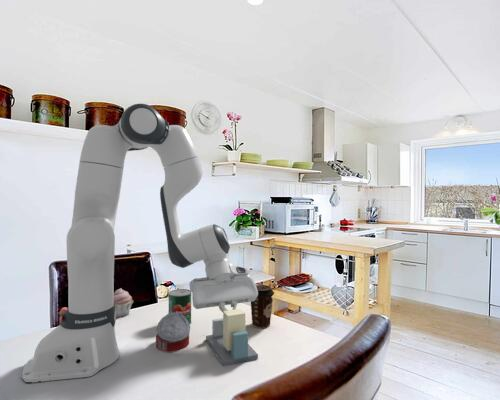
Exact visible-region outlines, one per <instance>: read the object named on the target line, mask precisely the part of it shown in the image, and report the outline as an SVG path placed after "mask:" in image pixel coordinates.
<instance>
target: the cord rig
mask: <svg viewBox="0 0 500 400" xmlns="http://www.w3.org/2000/svg"><path fill="white" fill-rule="evenodd" d="M211 326H212V327H211V328H212V332H211V334H207V335H206V336H205V340H206V342H207V343H208V345H209V347H211V350H212V352H213V353H214V354H215V356H216V357H217V359H218V360H219V362H220V363H221V365H222V366H223V367H226V366H229V365H230V366H231V365H233V364H240V363H244V362H249V361H254V360H259V354H258V353H257V352H256V351H255V349H253V347H252V346H251V345H250V344H249V333H248V331H246V329H245V330H243V331H237V332H231V337H230V343H231V350H229V351H228V350H227V349H226V348H225V346H224V345H223V317H221V318H215V319H212V325H211Z"/></svg>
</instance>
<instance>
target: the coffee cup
mask: <svg viewBox="0 0 500 400" xmlns="http://www.w3.org/2000/svg"><path fill="white" fill-rule="evenodd" d="M256 287H257V290H258V296H257V298H256V299H255V301H252V302H250V309H251V326H253V327H254V328H258V329H264V328H267V327H270V326H271V318H272V309H273V301H274V300H273V296H274V295H275V292H274V291H273V289H272V286H270V285H265V284H257V285H256Z"/></svg>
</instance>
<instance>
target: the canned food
mask: <svg viewBox="0 0 500 400" xmlns="http://www.w3.org/2000/svg"><path fill="white" fill-rule="evenodd" d="M190 331H191V324H190V325H189V322H188V320H187V319H186V317H185V316H184V315H183V314H181V313H177V312H172V313H169V312H168V313H167V314H166V315H164V316H162V317H161V318H160V320H159V322H158V323H157V327H156V335H155V347H156V349H157V350H158V351H161V352H167V353H168V352H169V353H170V352H171V353H173V352H177V351H178V352H179V351H180V350H184V349H185V348H187V347H188V346H189V345H190V333H191V332H190Z"/></svg>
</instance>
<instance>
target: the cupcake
mask: <svg viewBox="0 0 500 400" xmlns="http://www.w3.org/2000/svg"><path fill="white" fill-rule="evenodd" d="M133 303H134V300H133V297H132V296H131V295H130V294H129V292H128V291H126V290H124V289H122V287H121V288H119V289H116V290H115V291H114V304H115V308H116V318H123V317H126V316H129V314H130V312H131V307H132V305H133ZM122 316H123V317H122Z"/></svg>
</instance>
